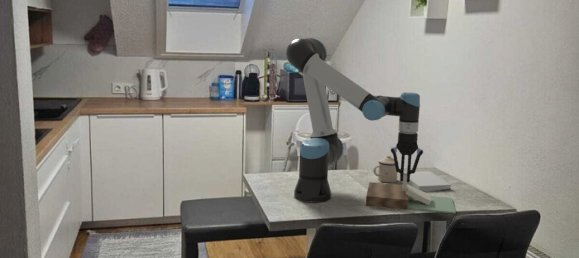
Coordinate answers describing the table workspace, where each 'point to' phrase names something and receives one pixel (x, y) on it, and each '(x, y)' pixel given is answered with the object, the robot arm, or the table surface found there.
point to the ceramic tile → (418, 194)
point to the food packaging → (427, 181)
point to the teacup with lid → (386, 170)
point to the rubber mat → (432, 205)
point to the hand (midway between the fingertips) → (404, 189)
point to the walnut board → (386, 196)
